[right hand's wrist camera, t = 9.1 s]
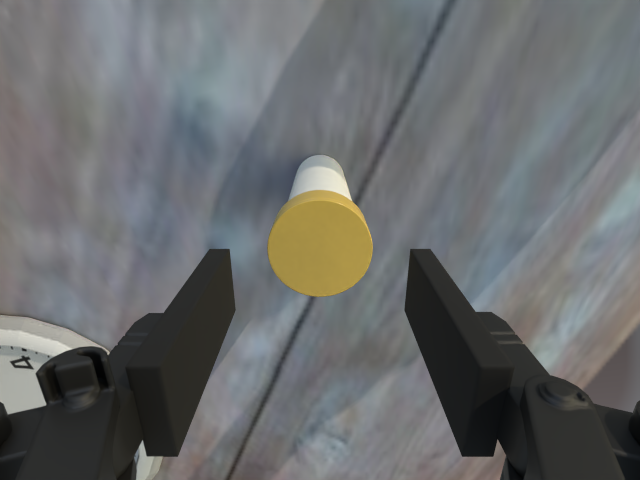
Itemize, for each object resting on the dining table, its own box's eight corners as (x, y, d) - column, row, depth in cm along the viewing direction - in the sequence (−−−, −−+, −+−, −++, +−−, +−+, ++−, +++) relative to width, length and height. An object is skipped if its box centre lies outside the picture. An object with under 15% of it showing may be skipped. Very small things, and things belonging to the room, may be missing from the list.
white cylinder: (326, 211, 33) (331, 300, 19) (286, 186, 32) (260, 259, 18) (353, 172, 32) (381, 235, 17) (312, 145, 31) (306, 187, 17)
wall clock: (202, 498, 44) (-11, 543, 48) (206, 485, 46) (-1, 529, 49) (73, 289, 34) (-190, 364, 37) (84, 281, 35) (-170, 354, 39)
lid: (333, 293, 20) (334, 313, 18) (254, 248, 19) (248, 264, 17) (386, 223, 19) (393, 236, 17) (305, 170, 18) (303, 178, 16)
